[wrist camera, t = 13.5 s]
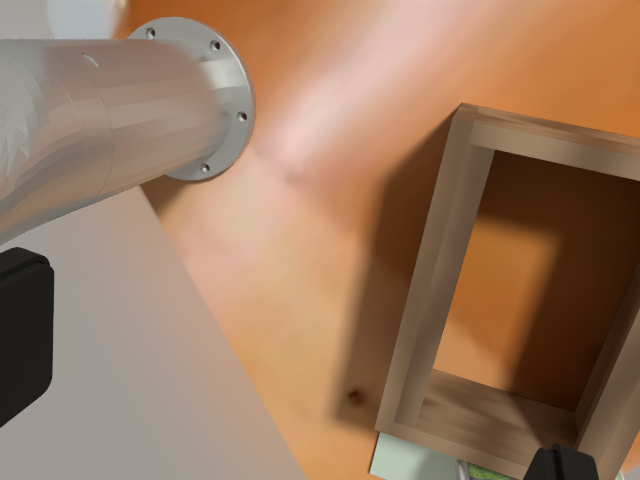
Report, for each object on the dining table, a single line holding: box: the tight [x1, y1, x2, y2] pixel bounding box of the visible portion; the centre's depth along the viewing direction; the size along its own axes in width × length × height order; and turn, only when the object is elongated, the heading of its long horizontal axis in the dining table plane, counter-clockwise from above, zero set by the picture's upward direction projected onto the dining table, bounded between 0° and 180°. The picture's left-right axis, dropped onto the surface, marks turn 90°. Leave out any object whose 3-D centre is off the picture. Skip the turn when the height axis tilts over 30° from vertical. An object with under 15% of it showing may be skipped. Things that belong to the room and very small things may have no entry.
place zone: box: [370, 432, 458, 480], centre depth 48 cm, size 9×9×1 cm
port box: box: [374, 103, 640, 480], centre depth 37 cm, size 15×22×8 cm
